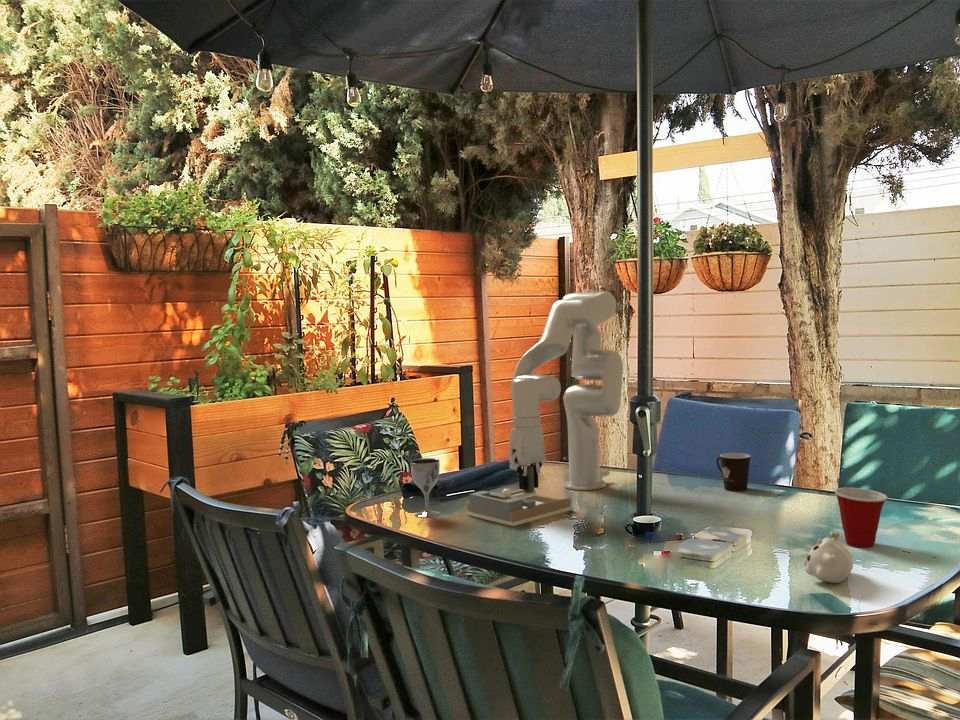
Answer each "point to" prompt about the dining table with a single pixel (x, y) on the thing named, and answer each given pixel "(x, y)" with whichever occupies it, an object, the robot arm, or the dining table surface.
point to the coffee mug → (734, 471)
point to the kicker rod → (526, 494)
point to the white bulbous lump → (829, 560)
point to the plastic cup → (860, 514)
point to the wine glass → (425, 480)
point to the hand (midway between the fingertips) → (528, 487)
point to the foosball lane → (514, 508)
